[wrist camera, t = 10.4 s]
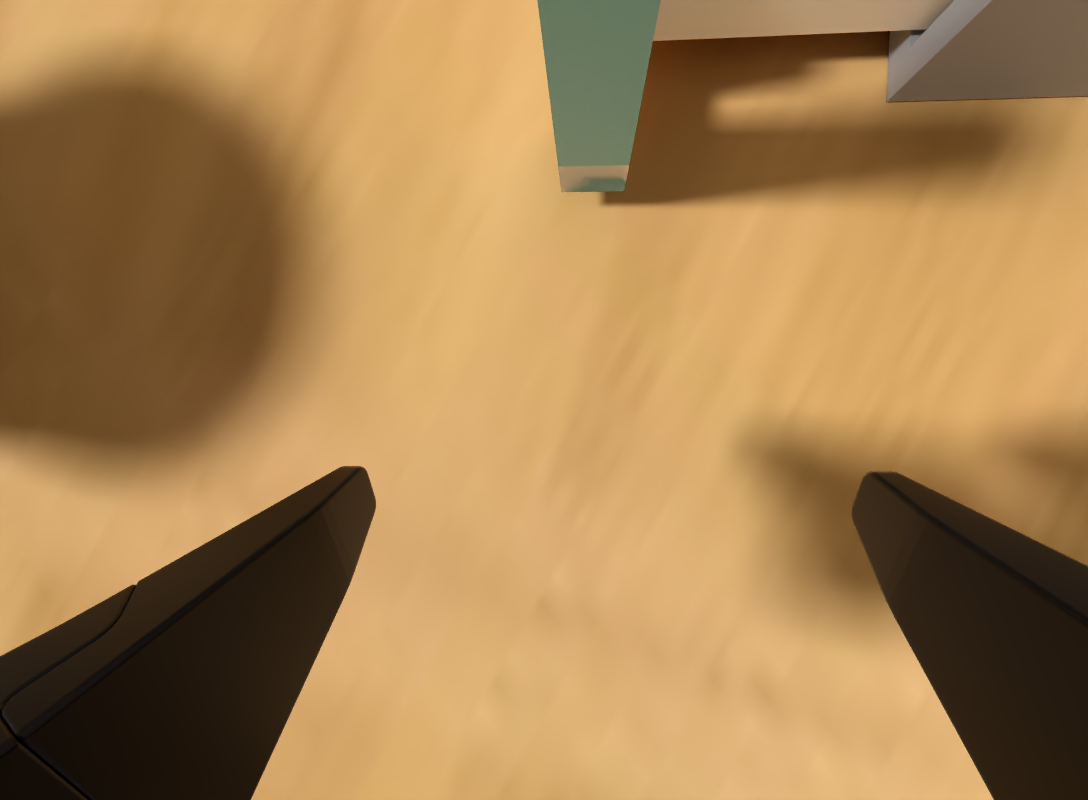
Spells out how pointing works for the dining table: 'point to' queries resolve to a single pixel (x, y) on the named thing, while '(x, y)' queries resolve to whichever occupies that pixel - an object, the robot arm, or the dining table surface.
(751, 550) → the dining table surface
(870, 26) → the teal white angled piece
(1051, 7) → the carton sleeve
